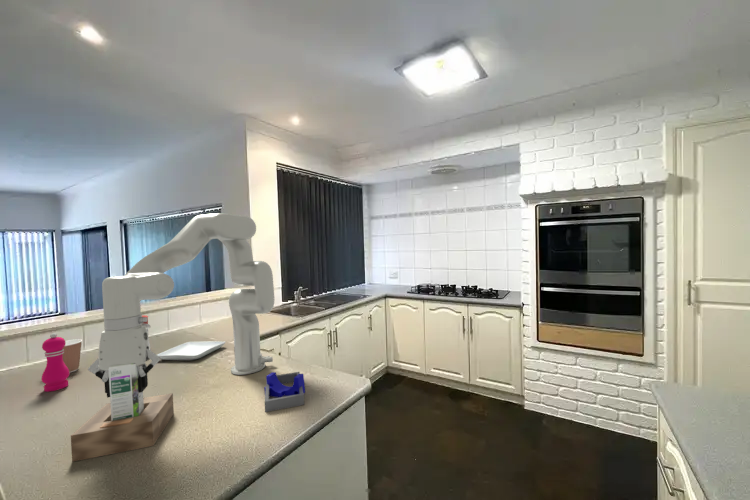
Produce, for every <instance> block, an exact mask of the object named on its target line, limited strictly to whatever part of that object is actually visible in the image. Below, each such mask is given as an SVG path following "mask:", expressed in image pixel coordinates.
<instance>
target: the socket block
mask: <svg viewBox="0 0 750 500" xmlns="http://www.w3.org/2000/svg"><path fill="white" fill-rule="evenodd" d="M143 401H144V410H143V412H142V413H141V414H140V415H139V416H136V417H131V418H125V419H119V420H113V421H111V402H109V403H105V405H103V406H102V407H101V408H99V410H98V411H96V412H95V413H94V414H93V415H92V416H91V417H90V418H88V420H86V422H84V423H83V424H82V425H81V426H80V427H79V428H78V429H76V430H75V431H74V432H73V433H72V434H71V435H70V445H71V446H70V447H71V461H72V462H77V461H83V460H88V459H93V458H97V457H102V456H108V455H113V454H118V453H123V452H128V451H134V450H139V449H143V448H149V447H154V445H155V444H156V443H157V441H158V439H159V437H160V436H161V435H162V433H163V432H164V430H165V428H166V427H167V426H168V424H169V422H170V420H171V419H172V418H173V416H174V414H175V411H174V394H173V392H172V393H166V394H165V393H164V394H161V395H154V396H153V395H152V396H146V397H143Z"/></svg>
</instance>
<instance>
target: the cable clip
mask: <svg viewBox="0 0 750 500" xmlns="http://www.w3.org/2000/svg"><path fill="white" fill-rule="evenodd" d="M276 375H277V373H276V372H273V371H271V372H270V373H268V374H267V375H265V376H266V377H265V378H266V379H267V384H269V392H270V397H273V398H279V397H285V396H291V395H296V394H299V388H300V387H301V386H302V388H303V393H304V394H305V393H306V388H305V387H306V386H305V376H304V373H300V374H298V375H297V376H296V377H294V382H293V384H292V385H291V386H288V385H287V386H286V384H282V383H281V382H280V381H279V380H278V378H277V376H276ZM263 388H264V390H263V391H264V392H265V390H266V385H265V386H264V387H263Z"/></svg>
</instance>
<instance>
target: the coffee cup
mask: <svg viewBox="0 0 750 500" xmlns="http://www.w3.org/2000/svg"><path fill="white" fill-rule="evenodd" d="M65 342H66V344H65V346H64V347H63V349H64V353H63V361H64V363H65V365H66V366H67V368H68V369H69V373H70V374H71V373H74V372H76V371H78V370H79V367H80V361H81V354H82V353H81V350H82V342H83V339H81V338H80V339H79V338H77V339H69V340H68V339H67V340H65Z"/></svg>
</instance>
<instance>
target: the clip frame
mask: <svg viewBox="0 0 750 500" xmlns="http://www.w3.org/2000/svg"><path fill="white" fill-rule="evenodd" d="M298 374H301V372H300V371H294V372H289V373H288V372H287V373H281V374H276V376H277V378H278V380H279V381H280V382H281V383H282V384H283V385H287V384H291V383H294V377H296V376H297V375H298ZM265 386H266V390H265V391H264V412H265V413H268V412H272V411H277V410H284V409H289V408H294V407H298V406H305V393H303V388H302V386H301V387H300V388H299V394H296V395H291V396H282V397H273V398H270V397H271V396H270V392H269V384H267V379H266V380H265Z"/></svg>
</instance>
